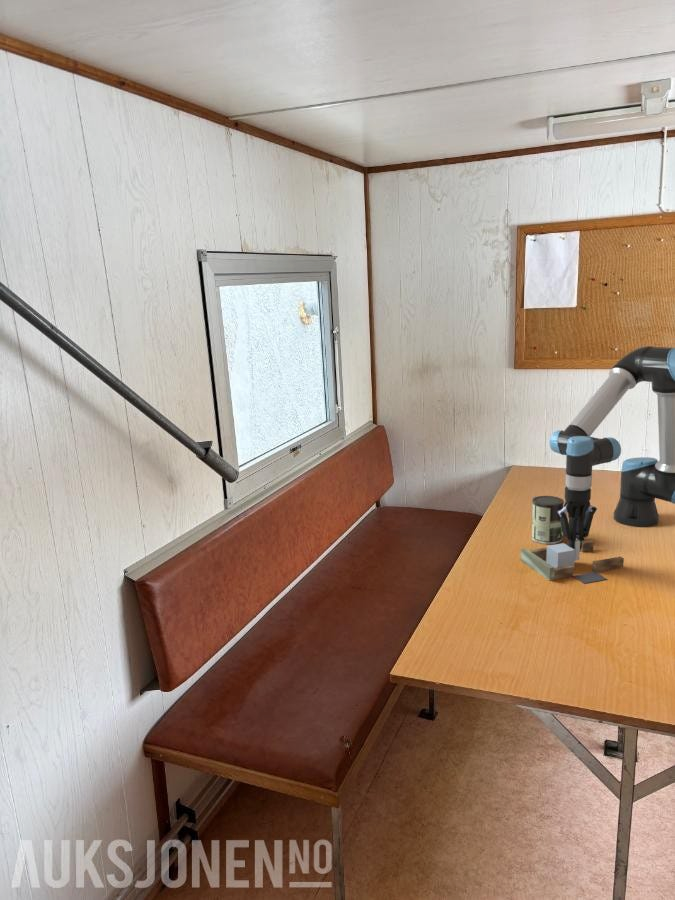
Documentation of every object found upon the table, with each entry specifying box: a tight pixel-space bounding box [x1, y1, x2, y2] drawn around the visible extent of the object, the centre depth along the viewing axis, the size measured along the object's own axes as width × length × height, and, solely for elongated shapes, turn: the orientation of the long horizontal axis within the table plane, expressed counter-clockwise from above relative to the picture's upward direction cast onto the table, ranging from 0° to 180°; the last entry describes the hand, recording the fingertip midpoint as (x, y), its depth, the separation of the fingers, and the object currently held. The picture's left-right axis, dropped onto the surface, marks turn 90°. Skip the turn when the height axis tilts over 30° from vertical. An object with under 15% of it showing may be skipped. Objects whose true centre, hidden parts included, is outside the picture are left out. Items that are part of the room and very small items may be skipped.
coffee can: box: [531, 495, 565, 545], centre depth 229 cm, size 10×10×14 cm
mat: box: [572, 571, 608, 584], centre depth 200 cm, size 8×6×1 cm
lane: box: [520, 540, 625, 581], centre depth 210 cm, size 26×16×4 cm, turn 106°
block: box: [545, 542, 576, 569], centre depth 208 cm, size 6×6×6 cm
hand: (574, 558), depth 210 cm, fingers closed
